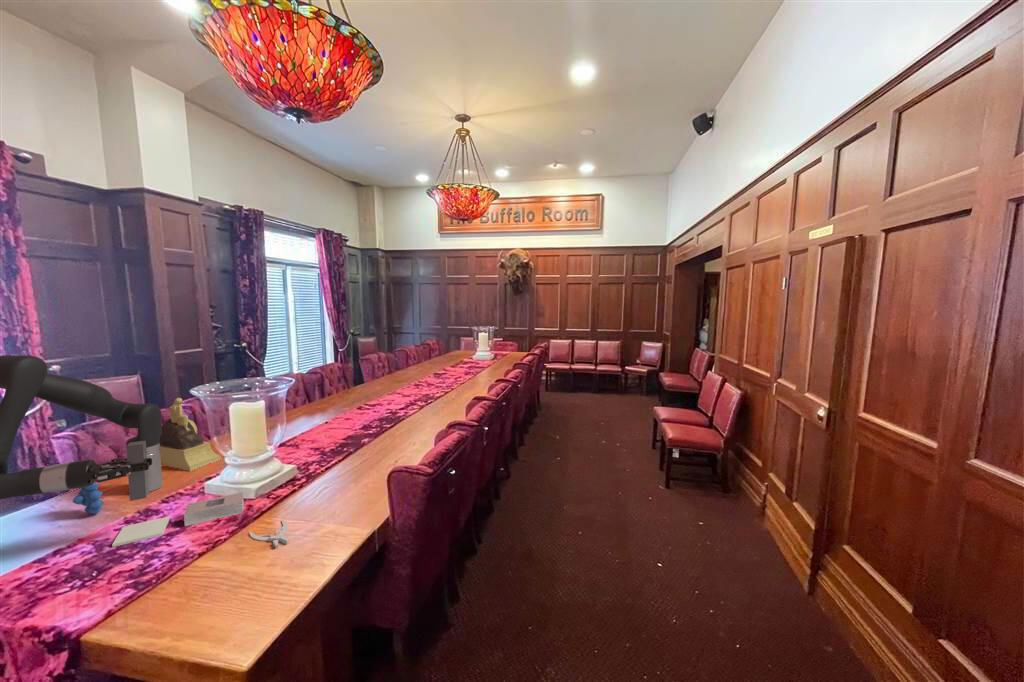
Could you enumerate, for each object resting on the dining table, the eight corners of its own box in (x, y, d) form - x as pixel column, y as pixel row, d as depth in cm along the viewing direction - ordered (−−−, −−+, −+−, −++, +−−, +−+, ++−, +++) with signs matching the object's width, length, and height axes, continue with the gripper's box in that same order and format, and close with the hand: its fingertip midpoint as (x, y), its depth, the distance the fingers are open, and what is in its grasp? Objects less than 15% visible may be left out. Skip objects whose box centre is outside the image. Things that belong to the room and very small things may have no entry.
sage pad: (123, 528, 121) (123, 526, 121) (169, 518, 127) (169, 516, 127) (112, 547, 112) (112, 544, 112) (162, 535, 118) (162, 532, 118)
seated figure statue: (221, 460, 176) (217, 396, 173) (190, 471, 164) (186, 402, 161) (179, 453, 184) (175, 391, 182) (146, 463, 172) (142, 397, 170)
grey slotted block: (188, 515, 129) (187, 503, 129) (243, 502, 137) (243, 492, 137) (184, 526, 122) (184, 514, 122) (242, 512, 131) (242, 501, 130)
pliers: (283, 517, 126) (300, 535, 116) (283, 521, 126) (300, 540, 116) (248, 529, 119) (263, 550, 109) (248, 534, 119) (263, 555, 109)
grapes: (66, 515, 129) (62, 480, 128) (94, 505, 135) (91, 472, 134) (81, 523, 124) (78, 487, 123) (110, 513, 130) (107, 479, 129)
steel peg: (133, 496, 119) (129, 442, 117) (148, 493, 121) (145, 440, 119) (129, 501, 116) (126, 446, 114) (146, 497, 118) (142, 443, 116)
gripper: (57, 472, 103) (144, 459, 113) (77, 455, 115) (154, 445, 125) (59, 498, 104) (145, 483, 113) (79, 479, 116) (156, 467, 125)
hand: (150, 463), depth 119 cm, fingers closed on steel peg, 3 cm apart
